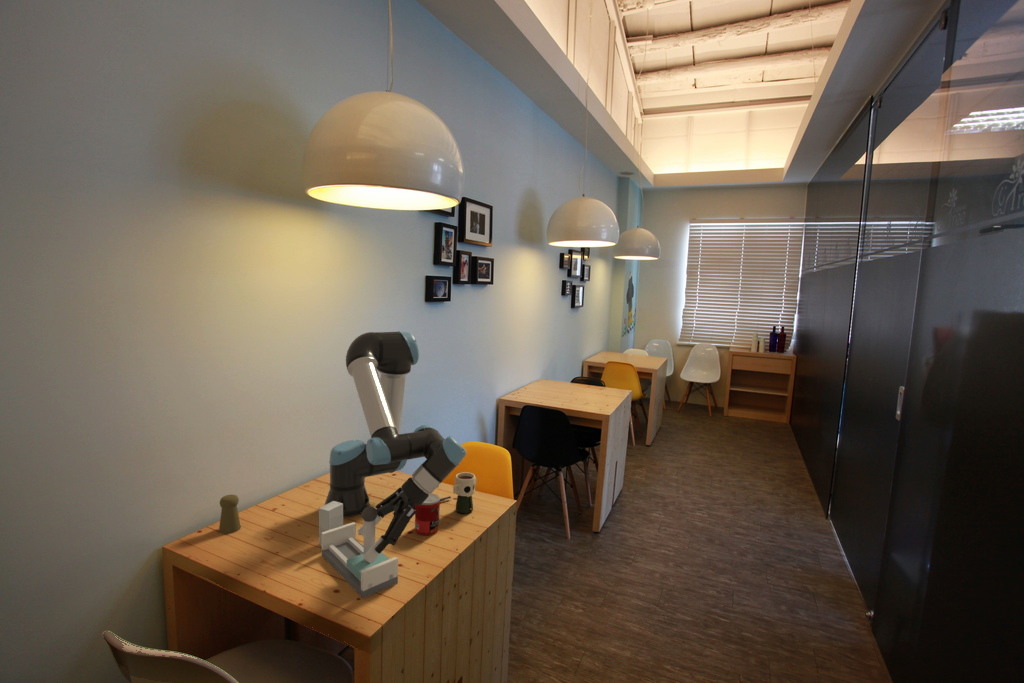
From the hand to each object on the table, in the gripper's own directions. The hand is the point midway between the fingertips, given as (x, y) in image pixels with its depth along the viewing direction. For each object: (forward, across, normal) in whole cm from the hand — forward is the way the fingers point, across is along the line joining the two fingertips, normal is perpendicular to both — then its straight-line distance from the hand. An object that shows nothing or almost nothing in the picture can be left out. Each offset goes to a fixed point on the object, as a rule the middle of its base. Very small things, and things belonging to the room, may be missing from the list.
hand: (363, 546), depth 127 cm
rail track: (+7, +6, -6) cm, 12 cm away
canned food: (-9, +21, -23) cm, 32 cm away
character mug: (-20, +30, -34) cm, 50 cm away
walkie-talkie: (-11, +41, -26) cm, 50 cm away
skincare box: (+12, +23, -2) cm, 26 cm away
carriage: (+3, 0, -5) cm, 6 cm away
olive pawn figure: (+33, +42, +19) cm, 57 cm away
